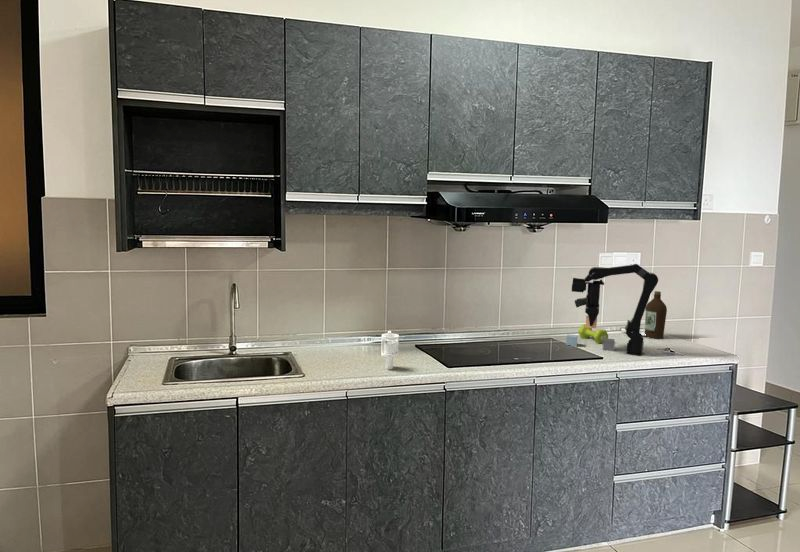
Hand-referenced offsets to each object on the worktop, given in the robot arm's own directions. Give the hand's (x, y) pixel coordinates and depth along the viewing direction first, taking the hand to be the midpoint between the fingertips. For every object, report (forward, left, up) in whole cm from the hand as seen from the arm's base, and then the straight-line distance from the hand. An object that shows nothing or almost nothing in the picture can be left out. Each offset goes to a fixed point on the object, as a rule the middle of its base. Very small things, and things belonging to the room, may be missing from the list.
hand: (591, 324), depth 290 cm
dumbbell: (+5, -20, -12) cm, 24 cm away
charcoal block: (-7, -5, -12) cm, 15 cm away
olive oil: (-18, -52, -12) cm, 56 cm away
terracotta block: (0, 0, -1) cm, 1 cm away
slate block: (+10, -1, -12) cm, 15 cm away
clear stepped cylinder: (+53, +93, -12) cm, 108 cm away
